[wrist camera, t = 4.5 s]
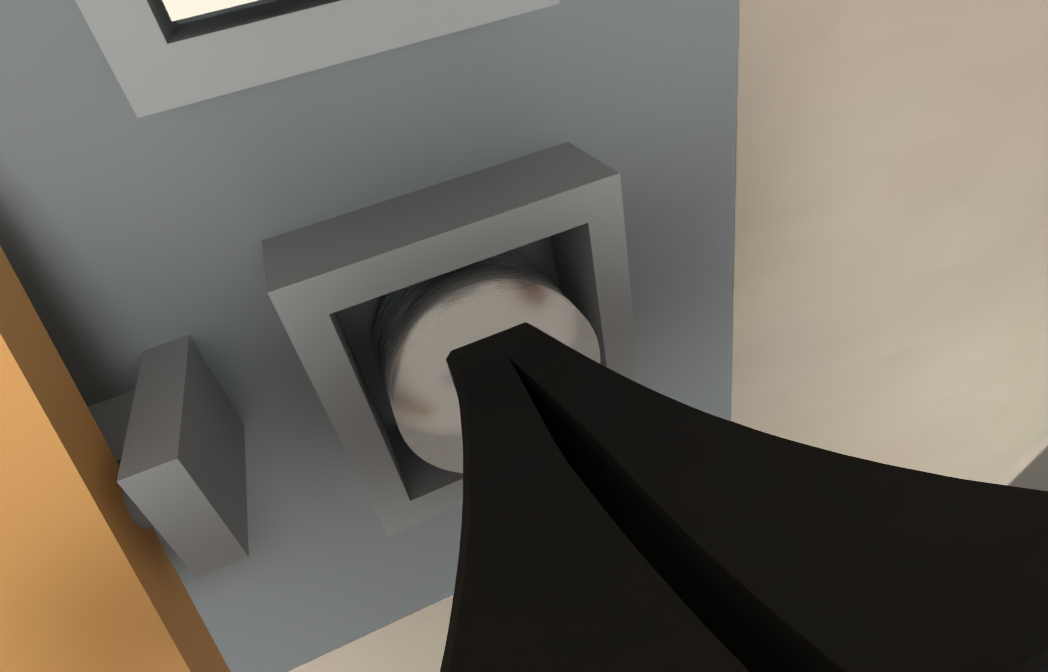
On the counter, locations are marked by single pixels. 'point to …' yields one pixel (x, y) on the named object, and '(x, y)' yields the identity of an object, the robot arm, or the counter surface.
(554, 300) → the button round
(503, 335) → the robot arm
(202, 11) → the button square
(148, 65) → the console
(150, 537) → the rocker
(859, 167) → the counter surface
